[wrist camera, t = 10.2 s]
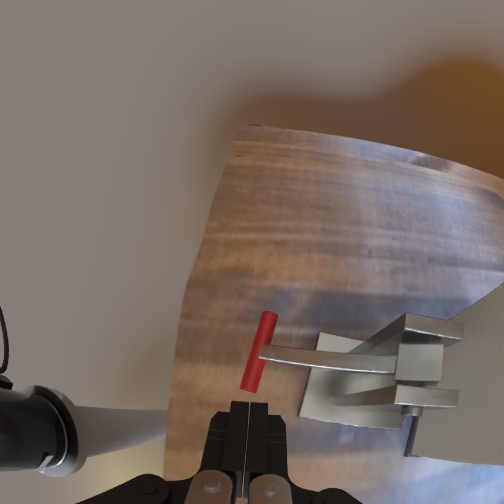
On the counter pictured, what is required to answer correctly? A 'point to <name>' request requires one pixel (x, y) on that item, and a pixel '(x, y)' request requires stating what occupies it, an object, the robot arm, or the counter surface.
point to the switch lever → (344, 360)
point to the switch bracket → (377, 377)
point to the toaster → (469, 392)
